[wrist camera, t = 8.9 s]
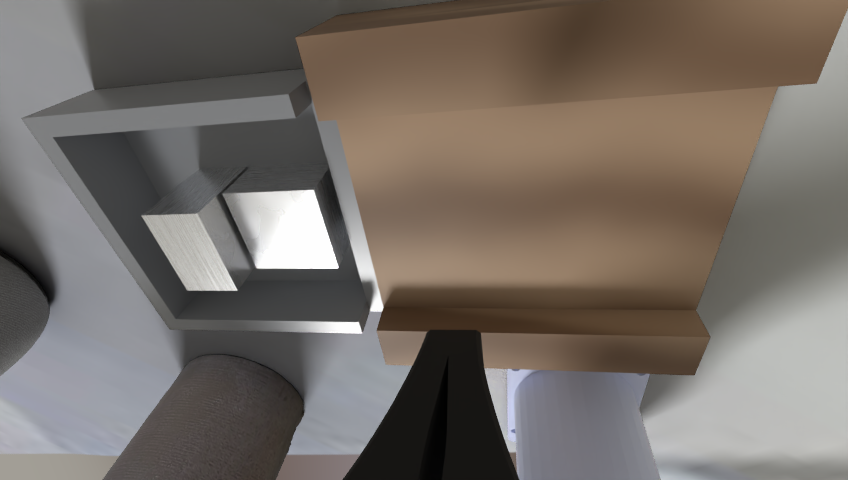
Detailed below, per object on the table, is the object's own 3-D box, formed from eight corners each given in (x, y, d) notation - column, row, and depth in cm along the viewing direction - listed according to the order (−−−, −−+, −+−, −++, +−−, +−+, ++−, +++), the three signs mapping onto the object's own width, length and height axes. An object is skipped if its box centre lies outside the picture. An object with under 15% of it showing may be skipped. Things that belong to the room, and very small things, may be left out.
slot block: (664, 309, 21) (694, 375, 18) (400, 306, 24) (386, 364, 21) (770, -39, 13) (862, -29, 9) (336, 15, 15) (295, 37, 12)
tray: (392, 284, 23) (378, 333, 20) (205, 285, 25) (169, 329, 22) (342, 64, 16) (311, 92, 13) (93, 89, 18) (21, 118, 15)
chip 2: (353, 235, 21) (338, 267, 19) (278, 237, 21) (256, 268, 19) (333, 161, 18) (313, 189, 16) (250, 166, 19) (222, 193, 17)
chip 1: (237, 290, 18) (187, 290, 19) (275, 237, 21) (232, 237, 22) (197, 213, 16) (140, 215, 16) (247, 166, 19) (198, 169, 19)
